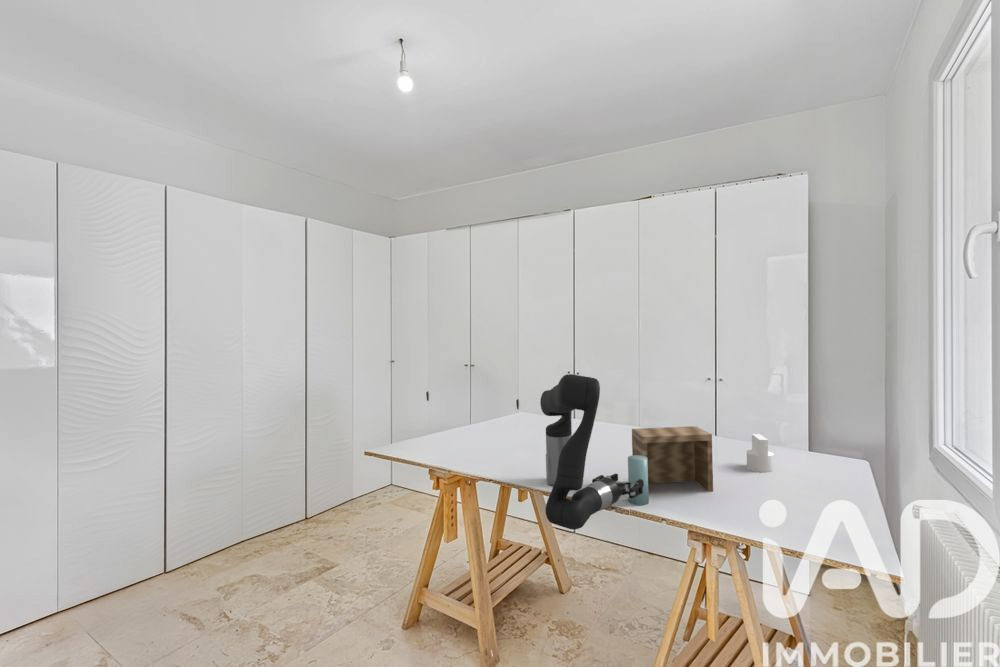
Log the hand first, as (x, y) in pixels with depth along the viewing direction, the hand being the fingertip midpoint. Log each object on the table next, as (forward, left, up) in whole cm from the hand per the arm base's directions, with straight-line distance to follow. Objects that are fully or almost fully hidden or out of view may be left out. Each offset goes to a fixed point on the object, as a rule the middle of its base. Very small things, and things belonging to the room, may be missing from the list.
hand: (629, 479), depth 149 cm
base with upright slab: (+58, +31, -9) cm, 66 cm away
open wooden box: (+19, +16, -9) cm, 26 cm away
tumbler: (+4, +4, -9) cm, 10 cm away
